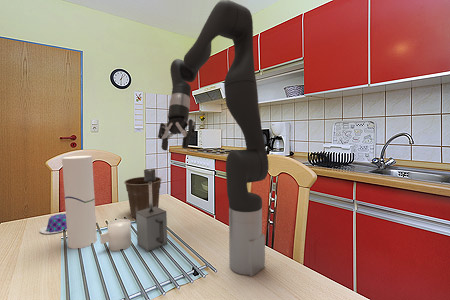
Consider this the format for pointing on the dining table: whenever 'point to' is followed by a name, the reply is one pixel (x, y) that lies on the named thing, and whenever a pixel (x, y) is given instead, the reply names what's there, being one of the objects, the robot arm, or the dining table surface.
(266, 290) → the dining table surface
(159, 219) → the box with side grip
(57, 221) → the purple hat
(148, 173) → the plunger
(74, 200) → the container
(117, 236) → the mug
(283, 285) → the dining table surface
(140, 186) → the plant pot
